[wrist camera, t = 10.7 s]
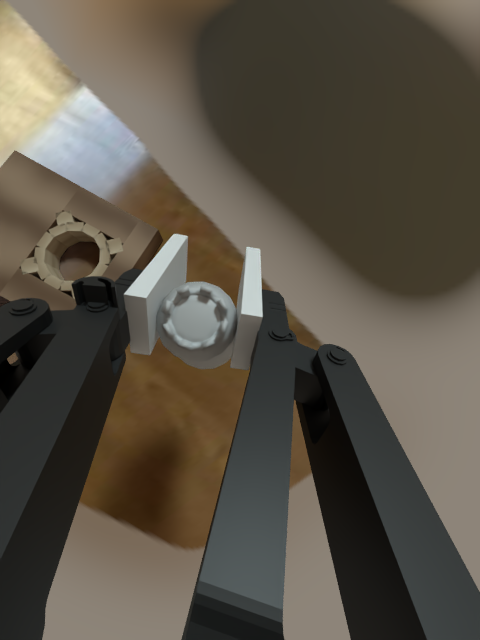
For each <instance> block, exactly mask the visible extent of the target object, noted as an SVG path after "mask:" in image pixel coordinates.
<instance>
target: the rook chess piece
mask: <svg viewBox="0 0 480 640" xmlns="http://www.w3.org/2000/svg"><path fill="white" fill-rule="evenodd" d="M237 323H238V322H237V310H236V308H235V306H234V304H233V302H232V300H231V298H230V297H229V296H228V295H227V294H226V293H225V292H224V291H223V290H222V289H220V288H219V287H217V286H215V285H212V284H209V283H206V282H188V283H186V284H183V285H181V286H179V287H176V288H174V289H173V290H172V291H171V292H170V293H169V294H168V295H167V296H166V297H165V298H164V299H163V300H162V303H161V305H160V308H159V310H158V312H157V332H158V334H159V336H160V339H161V341H162V343H163V345H164V346H165V347H166V348H167V349H168V350H169V351H170V352H171V353H173V354H174V355H175V356H177V357H180V358H181V359H182V360H183V361H184V362H185V363H186V364H188V365H190V366H193V367H196V368H199V369H212V368H216V367H218V366H220V365H222V364H224V363H226V362H227V361H228V360H229V359H230V358H231V357H232V348H233V339H234V336H235V333H236V329H237Z"/></svg>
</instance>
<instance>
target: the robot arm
mask: <svg viewBox="0 0 480 640" xmlns="http://www.w3.org/2000/svg"><path fill="white" fill-rule="evenodd" d="M187 245H188V236H184V235H178V234H173V236H172V237H171V238H170V239H169V240H168V242H167V243H166V244H165V245H164V246H163V248H162V249H161V250H160V251H159V252H158V254H157V255H156V256H155V257H154V258H153V260H152V261H151V262H150V263H149V264H148V266H147V267H146V268H145V269H144V270H140V269H134V268H133V269H130V270H128V271H126V272H124V273H123V274H122V275H121V276H120V277H119V278H118V279H117V280H116V281H115V282H114V281H113V280H111V279H109V278H107V277H101V276H90V277H84V278H81V279H78V280H76V281H74V282H73V283H72V284H71V285H72V289H73V293H74V297H75V301H76V304H77V305H76V307H75V308H74V310H52V311H51V310H50V307H49V304H48V303H47V302H46V301H45V300H42V299H39V298H21V299H18V300H14V301H11V302H9V303H7V304H4V305H3V306H1V307H0V640H42V636H43V630H44V626H45V607H46V602H47V598H48V594H49V591H50V588H51V585H52V582H53V579H54V576H55V573H56V570H57V566H58V564H59V560H60V558H61V555H62V552H63V548H64V545H65V542H66V539H67V536H68V533H69V530H70V527H71V524H72V521H73V518H74V515H75V512H76V509H77V506H78V503H79V500H80V497H81V494H82V491H83V488H84V485H85V482H86V479H87V476H88V473H89V470H90V467H91V464H92V461H93V458H94V455H95V452H96V449H97V445H98V442H99V439H100V436H101V433H102V430H103V427H104V424H105V421H106V418H107V415H108V412H109V409H110V406H111V403H112V400H113V397H114V394H115V391H116V388H117V385H118V382H119V379H120V376H121V373H122V370H123V367H124V364H125V361H126V354H125V349H126V347H127V346H128V344H129V343H130V349H131V352H132V353H138V354H145V355H150V354H151V352H152V350H153V348H154V346H155V344H156V342H157V340H158V337H159V334H158V332H157V312H158V310H159V308H160V305H161V303H162V300H163V299H164V298H165V297H166V296H167V295H168V294H169V293H170V292H171V291H172V290H173V289H174V288H176V287H179V286H181V285H183V284H184V283H185V281H186V268H187ZM237 322H238V323H237V329H236V333H235V336H234V339H233V348H232V357H231V366H230V367H231V368H237V369H244V370H249V367H250V373H249V377H248V380H247V384H246V388H245V392H244V396H243V400H242V404H241V408H240V412H239V416H238V420H237V424H236V428H235V432H234V436H233V440H232V444H231V448H230V451H229V455H228V459H227V463H226V467H225V471H224V475H223V479H222V483H221V487H220V491H219V495H218V499H217V503H216V507H215V511H214V515H213V518H212V522H211V526H210V530H209V534H208V538H207V542H206V546H205V550H204V554H203V558H202V562H201V566H200V570H199V574H198V578H197V582H196V586H195V589H194V593H193V597H192V601H191V605H190V609H189V613H188V617H187V621H186V625H185V628H184V632H183V636H182V640H284V636H283V624H282V622H283V619H282V617H283V595H284V576H285V557H286V538H287V518H288V499H289V480H290V461H291V442H292V423H293V404H294V400H296V405H297V409H298V414H299V418H300V422H301V427H302V431H303V435H304V440H305V444H306V448H307V453H308V457H309V461H310V465H311V470H312V474H313V478H314V482H315V487H316V491H317V496H318V500H319V504H320V508H321V513H322V517H323V521H324V526H325V529H326V534H327V539H328V543H329V547H330V552H331V556H332V560H333V564H334V568H335V573H336V577H337V582H338V585H339V590H340V595H341V599H342V603H343V607H344V612H345V616H346V620H347V625H348V629H349V633H350V638H351V640H480V592H479V590H478V588H477V586H476V585H475V583H474V581H473V579H472V577H471V575H470V573H469V571H468V570H467V568H466V566H465V564H464V562H463V560H462V559H461V556H460V555H459V553H458V551H457V549H456V547H455V545H454V543H453V542H452V540H451V538H450V536H449V534H448V532H447V530H446V529H445V527H444V525H443V523H442V521H441V519H440V518H439V515H438V513H437V512H436V510H435V508H434V506H433V504H432V503H431V501H430V499H429V497H428V495H427V493H426V491H425V489H424V487H423V485H422V484H421V482H420V480H419V478H418V476H417V474H416V472H415V470H414V469H413V467H412V465H411V463H410V461H409V459H408V458H407V456H406V454H405V452H404V450H403V448H402V446H401V444H400V443H399V441H398V439H397V437H396V435H395V433H394V431H393V430H392V428H391V426H390V424H389V422H388V420H387V418H386V416H385V415H384V413H383V411H382V409H381V407H380V405H379V403H378V401H377V399H376V398H375V396H374V394H373V392H372V390H371V388H370V386H369V385H368V383H367V381H366V379H365V377H364V375H363V373H362V372H361V370H360V368H359V366H358V364H357V362H356V360H355V359H354V357H353V356H352V355H351V354H350V353H349V352H348V351H347V350H345V349H343V348H341V347H339V346H336V345H332V344H324V345H322V346H320V347H319V349H318V351H316V350H314V349H311V348H309V347H306V346H304V345H302V344H300V343H299V342H297V339H296V335H295V334H294V333H293V331H291V330H290V329H289V326H288V320H287V314H286V308H285V302H284V298H283V297H282V296H281V294H280V293H279V292H274V291H268V290H263V289H262V286H261V259H260V249H256V248H251V247H247V248H246V253H245V259H244V264H243V270H242V275H241V281H240V286H239V293H238V302H237ZM14 352H15V353H16V355H17V357H18V360H17V361H16V362H14V363H12V364H11V365H10V364H9V362H8V361H7V358H8V357H9V356H11V355H12V354H13V353H14Z"/></svg>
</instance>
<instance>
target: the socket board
mask: <svg viewBox="0 0 480 640" xmlns="http://www.w3.org/2000/svg"><path fill="white" fill-rule="evenodd" d="M162 241H163V239H162V237H161V235H160V232H159V230H158V229H156V228H154V227H152V226H151V225H149V224H147V223H145V222H143V221H142V220H140V219H138V218H136V217H134V216H133V215H131V214H129V213H127V212H125V211H124V210H122V209H120V208H118V207H116V206H115V205H113V204H111V203H109V202H107V201H106V200H104V199H102V198H100V197H98V196H97V195H95V194H93V193H91V192H89V191H87V190H86V189H84V188H82V187H80V186H78V185H77V184H75V183H73V182H71V181H69V180H68V179H66V178H64V177H62V176H60V175H59V174H57V173H55V172H53V171H51V170H50V169H48V168H46V167H44V166H42V165H41V164H39V163H37V162H35V161H33V160H31V159H30V158H28V157H26V156H24V155H22V154H21V153H19V152H17V151H14V152H13V153H12V154H11V156H10V157H9V158H8V159H7V160H6V162H5V163H4V164H3V165H2V166H1V168H0V296H2V297H4V298H5V299H7V300H9V301H14V300H18V299H21V298H39V299H42V300H45V301H46V302H47V303H48V304H49V307H50V310H51V311H52V310H74V308H75V307H76V305H77V304H76V301H75V297H74V293H73V289H72V285H71V284H72V283H73V282H74V281H65V280H64V278H63V277H62V275H61V273H60V271H59V266H60V258H61V256H62V255H63V253H64V252H65V251H66V249H67V248H68V247H70V246H72V245H74V244H76V243H78V242H95V243H96V244H98V246H99V248H100V260H99V264H98V265H97V267H96V268H95V269H94V271H93V272H92V274H90V275H89V276H87V277H90V276H101V277H107V278H109V279H111V280H113V281H114V282H115V281H116V280H117V279H118V278H119V277H120V276H121V275H122V274H123V273H124V272H126V271H128V270H130V269H133V268H134V269H140V270H144V269H145V267H146V266H147V264H148V263H149V261H150V260H151V258H152V256H153V255H154V253H155V252H156V250H157V249H158V247H159V246H160V244H161V243H162ZM72 295H73V296H72Z"/></svg>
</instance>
